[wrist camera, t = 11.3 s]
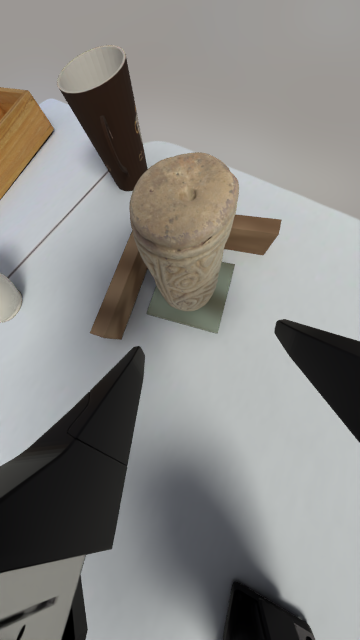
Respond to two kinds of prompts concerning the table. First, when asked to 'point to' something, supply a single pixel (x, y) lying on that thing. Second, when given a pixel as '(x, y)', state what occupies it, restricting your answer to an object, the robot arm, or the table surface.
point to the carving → (184, 225)
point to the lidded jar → (8, 299)
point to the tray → (19, 133)
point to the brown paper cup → (106, 110)
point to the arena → (128, 280)
